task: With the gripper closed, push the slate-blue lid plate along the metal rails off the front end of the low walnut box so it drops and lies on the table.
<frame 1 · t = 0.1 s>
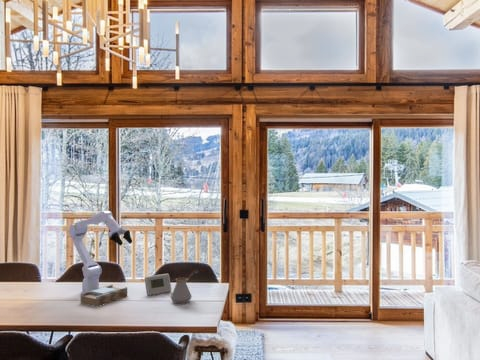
hand: (126, 243, 224), 32 cm above the table, tool tilted 50°, fingers open, 7 cm apart
coffee pot: (186, 300, 222), on the table
lid plate: (104, 292, 221), point 4 cm above the table, touching slide box
slide box: (104, 299, 222), on the table
digital clock: (158, 293, 235), on the table
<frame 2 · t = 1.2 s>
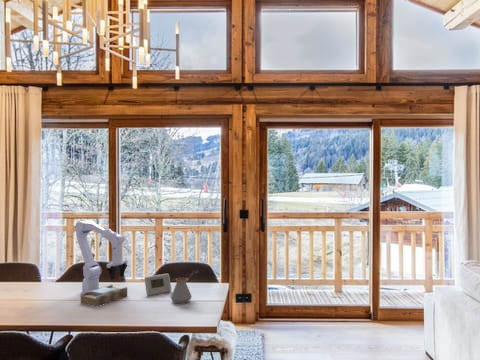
hand: (117, 277, 230), 10 cm above the table, tool pointing down, fingers open, 7 cm apart
nothing on the table moved.
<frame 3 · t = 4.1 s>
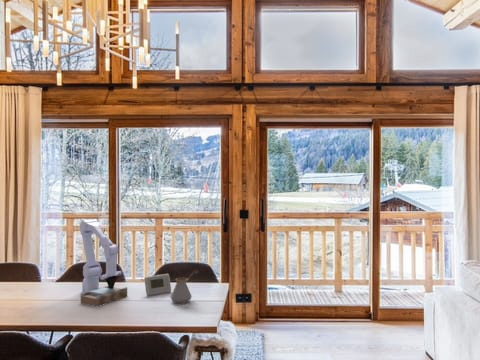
hand: (111, 289, 226), 5 cm above the table, tool pointing down, fingers closed
lid plate: (103, 293, 221), point 4 cm above the table, touching gripper
everything else where it was.
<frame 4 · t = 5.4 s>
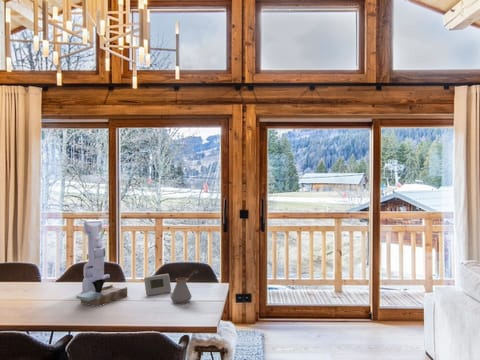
hand: (98, 293, 218), 5 cm above the table, tool pointing down, fingers closed
lid plate: (89, 297, 213), point 4 cm above the table, touching gripper
everything else where it was.
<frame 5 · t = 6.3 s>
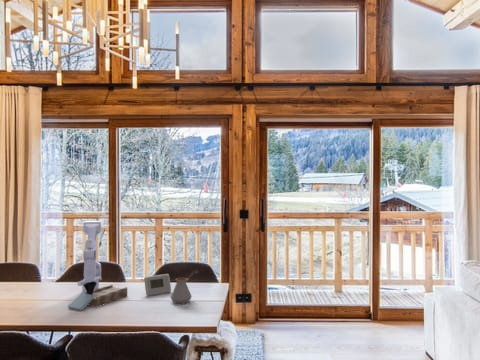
hand: (89, 296, 213), 5 cm above the table, tool pointing down, fingers closed
lid plate: (81, 302, 208), point 2 cm above the table, tilted 30°, touching gripper
everything else where it was.
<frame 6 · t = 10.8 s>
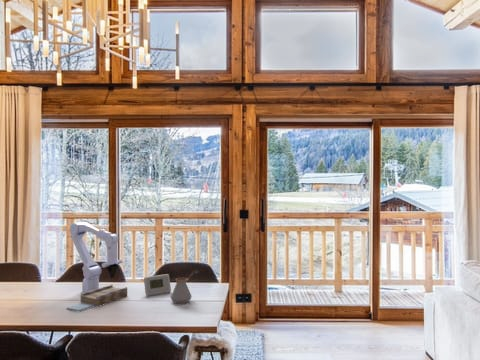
hand: (112, 277, 232), 10 cm above the table, tool pointing down, fingers closed
lid plate: (80, 308, 207), on the table
at the end: lid plate inside the target area (2.9 cm from its centre), on the table; lid plate touching table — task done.
